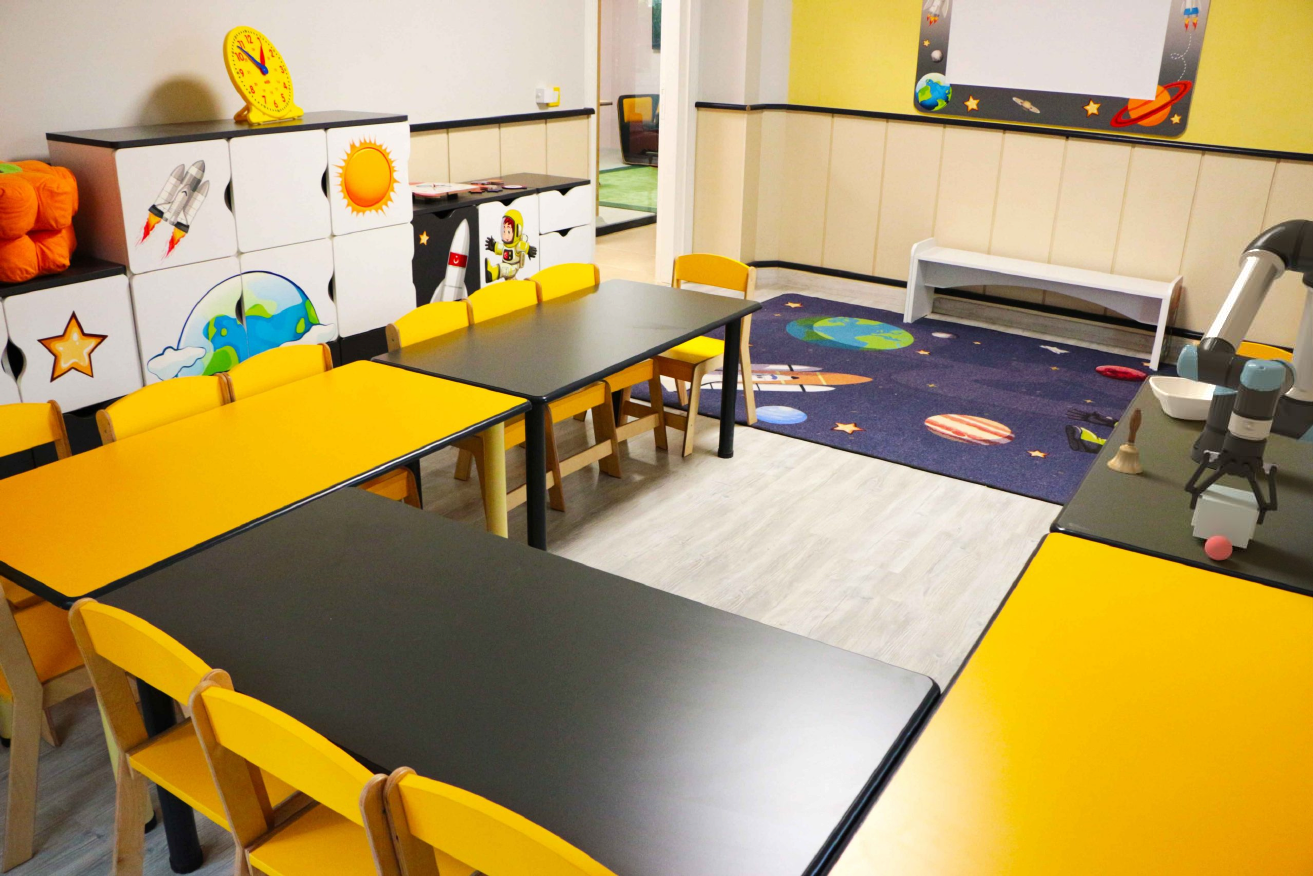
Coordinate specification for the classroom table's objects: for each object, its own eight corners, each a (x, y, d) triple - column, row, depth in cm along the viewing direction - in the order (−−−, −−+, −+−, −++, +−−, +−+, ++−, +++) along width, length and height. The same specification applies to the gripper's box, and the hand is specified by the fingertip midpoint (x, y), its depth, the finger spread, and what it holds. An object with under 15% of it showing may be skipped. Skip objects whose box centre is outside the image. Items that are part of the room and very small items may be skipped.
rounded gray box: (1196, 518, 226) (1205, 482, 223) (1248, 530, 222) (1258, 493, 218) (1192, 535, 218) (1202, 498, 215) (1246, 548, 213) (1256, 510, 210)
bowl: (1156, 424, 288) (1163, 396, 285) (1136, 401, 307) (1142, 374, 304) (1233, 431, 286) (1241, 402, 282) (1209, 407, 305) (1216, 380, 301)
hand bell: (1146, 476, 252) (1160, 415, 247) (1110, 472, 254) (1124, 412, 248) (1138, 463, 260) (1152, 404, 254) (1104, 459, 261) (1116, 401, 256)
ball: (1214, 546, 207) (1209, 565, 210) (1239, 545, 207) (1233, 564, 210) (1203, 531, 212) (1198, 550, 214) (1227, 530, 211) (1222, 549, 214)
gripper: (1185, 427, 214) (1162, 522, 222) (1311, 451, 203) (1281, 550, 211) (1188, 417, 220) (1165, 510, 228) (1310, 440, 209) (1282, 537, 217)
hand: (1221, 529), depth 220 cm, fingers closed on rounded gray box, 10 cm apart
